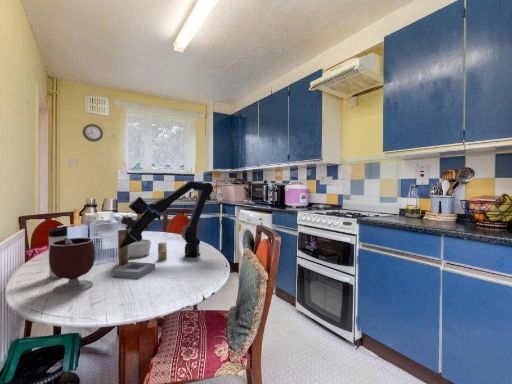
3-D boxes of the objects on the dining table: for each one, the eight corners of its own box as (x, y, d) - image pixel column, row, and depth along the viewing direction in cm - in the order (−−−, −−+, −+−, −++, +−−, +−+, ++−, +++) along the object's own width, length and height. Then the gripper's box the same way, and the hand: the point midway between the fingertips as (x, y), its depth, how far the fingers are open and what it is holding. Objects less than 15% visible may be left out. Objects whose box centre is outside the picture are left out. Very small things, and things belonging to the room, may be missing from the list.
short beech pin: (168, 258, 140) (167, 242, 139) (164, 260, 136) (163, 244, 135) (160, 257, 140) (160, 242, 140) (156, 259, 137) (156, 243, 136)
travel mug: (73, 274, 115) (71, 226, 114) (57, 279, 109) (55, 229, 108) (62, 272, 117) (61, 225, 116) (45, 278, 111) (44, 228, 110)
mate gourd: (56, 283, 105) (55, 231, 104) (98, 279, 110) (97, 229, 109) (42, 300, 90) (40, 239, 90) (90, 294, 95) (89, 236, 94)
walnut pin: (130, 263, 130) (129, 229, 130) (124, 266, 126) (123, 231, 126) (122, 263, 131) (121, 229, 130) (116, 265, 127) (116, 230, 127)
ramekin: (155, 251, 152) (155, 239, 152) (143, 258, 139) (143, 244, 139) (132, 251, 153) (132, 238, 153) (118, 257, 140) (118, 244, 140)
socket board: (155, 269, 122) (155, 263, 122) (138, 278, 111) (138, 272, 111) (130, 267, 125) (130, 261, 125) (112, 276, 113) (112, 270, 113)
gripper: (129, 208, 138) (105, 232, 133) (133, 211, 121) (105, 239, 117) (146, 222, 142) (123, 246, 137) (152, 228, 126) (126, 255, 121)
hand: (119, 246), depth 128 cm, fingers closed on walnut pin, 4 cm apart
